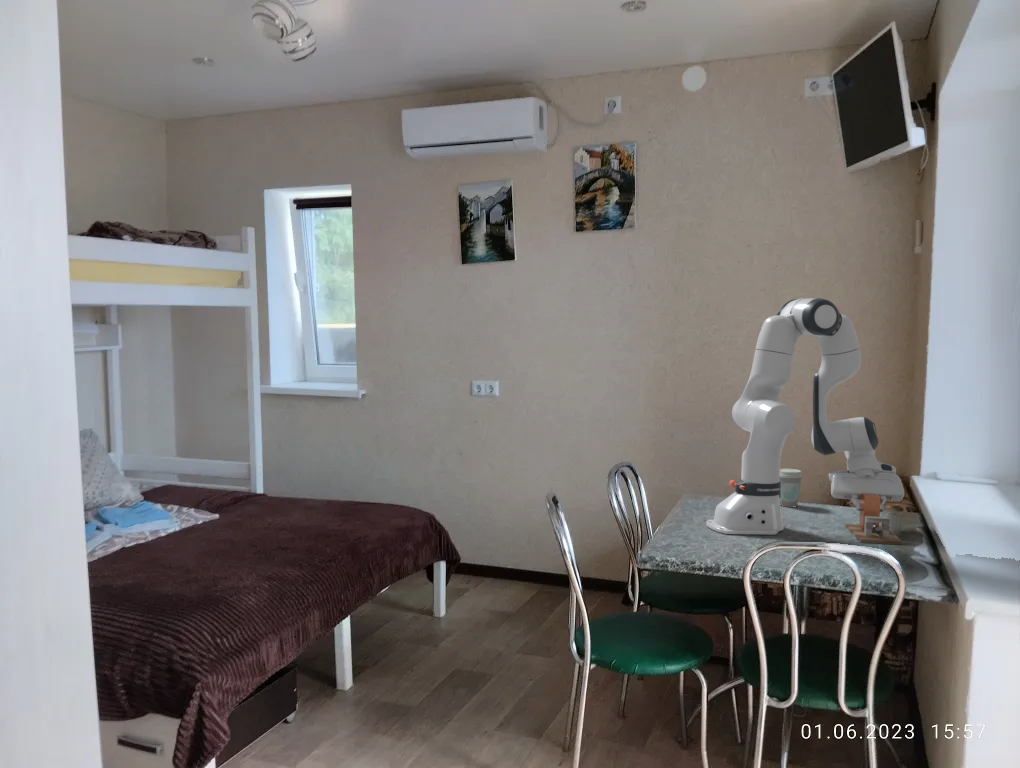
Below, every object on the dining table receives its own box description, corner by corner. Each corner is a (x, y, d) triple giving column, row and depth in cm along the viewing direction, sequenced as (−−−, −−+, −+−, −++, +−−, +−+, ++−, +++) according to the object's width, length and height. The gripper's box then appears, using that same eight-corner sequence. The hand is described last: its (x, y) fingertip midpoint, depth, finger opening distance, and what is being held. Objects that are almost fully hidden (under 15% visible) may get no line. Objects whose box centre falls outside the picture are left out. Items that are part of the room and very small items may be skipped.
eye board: (845, 526, 248) (846, 506, 248) (883, 528, 246) (884, 508, 246) (860, 542, 231) (861, 520, 230) (902, 544, 229) (903, 522, 228)
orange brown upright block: (859, 525, 245) (860, 492, 244) (875, 526, 244) (876, 493, 243) (870, 536, 233) (871, 501, 232) (886, 537, 232) (888, 502, 231)
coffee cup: (772, 506, 275) (773, 471, 274) (777, 501, 282) (778, 467, 282) (799, 509, 271) (800, 473, 270) (803, 504, 278) (804, 469, 278)
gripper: (829, 464, 250) (835, 502, 241) (901, 467, 246) (909, 506, 237) (825, 476, 254) (831, 514, 245) (896, 478, 251) (904, 517, 242)
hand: (870, 510), depth 241 cm, fingers closed on orange brown upright block, 4 cm apart
